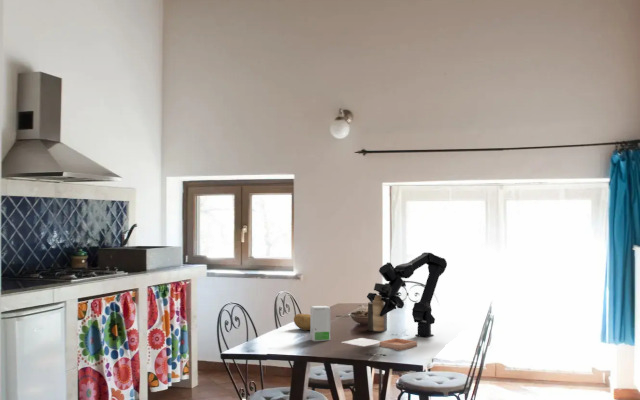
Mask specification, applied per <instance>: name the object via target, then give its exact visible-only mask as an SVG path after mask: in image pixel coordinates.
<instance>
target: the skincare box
mask: <svg viewBox="0 0 640 400" xmlns="http://www.w3.org/2000/svg"><path fill="white" fill-rule="evenodd" d="M309 308H310V315H311V320H310V330H309V331H310V333H309V335H310V336H309V339H310V340H311V341H312V342H324V341H331V307H330V306H328V305H311V306H310V307H309Z"/></svg>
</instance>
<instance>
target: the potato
mask: <svg viewBox="0 0 640 400" xmlns="http://www.w3.org/2000/svg"><path fill="white" fill-rule="evenodd" d="M310 320H311V314H310V313H309V314H308V313H297V314H296V315H294V317H293V322H294V324H295V326H296V327H297V328H298V329H300V330H303V331H310Z"/></svg>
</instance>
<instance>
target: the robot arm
mask: <svg viewBox="0 0 640 400" xmlns="http://www.w3.org/2000/svg"><path fill="white" fill-rule="evenodd" d="M424 265H426V266H427V265H428V266H427V269H428V276H427V279H426V282H425V285H424V289H423V291H422V293H421V298H420V300H419V301H418V302H414V304H413V308H412V309H411V310H412V312H411V316H412V318H413V321H414V323H417V333H416V334H415V335H414V336H416V337H421V338H429V337H433V336H434V335H435V334H432V325H433V324H435V321H436V318H435V317H434V315H433V314H432V306H431V302H432V300H433V298H434V294H435V291H436V288H437V284H438V281H439V278H440V276H441V275H443V274H444V272H445V271H446V269H447V266H448V262H447V261H446V258H444V257H441V256H439V255H435V254H434V253H432V252H423V253H421V254H420V255H419V256H417V257H415V258H413V259H412V260H410V261H408V262H406V263H401V264H398V265H396V266H395V267H394V265H393V264H392V263H391V262H386V263H385V264H384V265H382V266H381V267H380V268H379V270H378V273H380V275H381V276H382V277H383V279H384V280H385V281H386V282H387V283H377V282H375V284H374V287H373V291H376V292H368V293H367V296H366V298H367V299H368V301H369V302H371V303H372V304H373V300H374V298H375V296H377V295H379V296H381V298H382V299H381V300H383V302H385V305H384V307H383V309H382V311H381V313H380V316H383V315H385V314H386V313H387V314H388V313H389V312H392V311H394V310H397V309H403V307H405V306H404V305H405V302H404V300H403V299H402V298H401V296H399V295H400V293H399V291H400V289H401V288H402V287H405V288H406V287H407V284H406V281H405V280H403V279H409V278H411V277H412V276H413V275H414V273H415V271H416V270H417V269H419V268H421V267H423V266H424ZM377 293H378V294H377ZM371 314H372V315H373V308H372V313H371Z"/></svg>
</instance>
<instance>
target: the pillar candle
mask: <svg viewBox="0 0 640 400" xmlns="http://www.w3.org/2000/svg"><path fill="white" fill-rule="evenodd" d="M384 305H385V302H383V306H384ZM372 308H373V304H372V303H371V301H368V302H367V330H368V331H370V332H378V333H379V332H386V331H387V330H388V313H386V314H385V315H384V330H383V331H374V330H373V315H372V314H371V313H372Z"/></svg>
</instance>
